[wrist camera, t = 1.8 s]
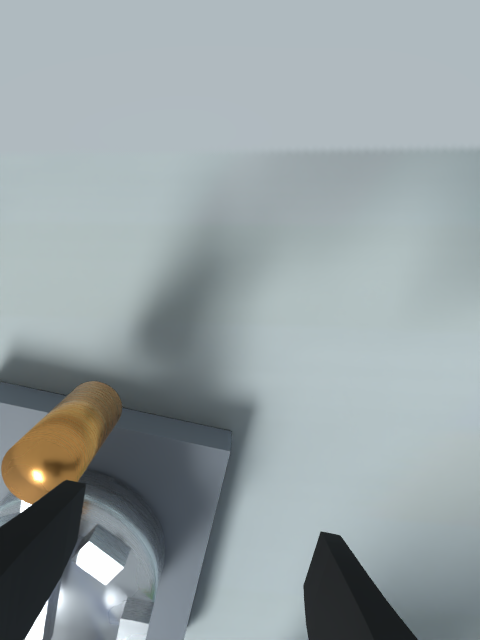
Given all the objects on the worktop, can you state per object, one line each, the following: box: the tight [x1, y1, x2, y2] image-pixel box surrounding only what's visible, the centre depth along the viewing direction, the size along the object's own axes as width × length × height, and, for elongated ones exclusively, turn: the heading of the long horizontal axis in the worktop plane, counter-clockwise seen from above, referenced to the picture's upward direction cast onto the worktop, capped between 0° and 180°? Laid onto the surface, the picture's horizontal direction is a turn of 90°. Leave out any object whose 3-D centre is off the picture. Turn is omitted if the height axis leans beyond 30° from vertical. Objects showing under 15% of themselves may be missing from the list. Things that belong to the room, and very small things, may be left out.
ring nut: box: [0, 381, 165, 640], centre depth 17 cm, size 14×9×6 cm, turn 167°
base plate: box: [0, 382, 232, 640], centre depth 22 cm, size 13×14×2 cm
